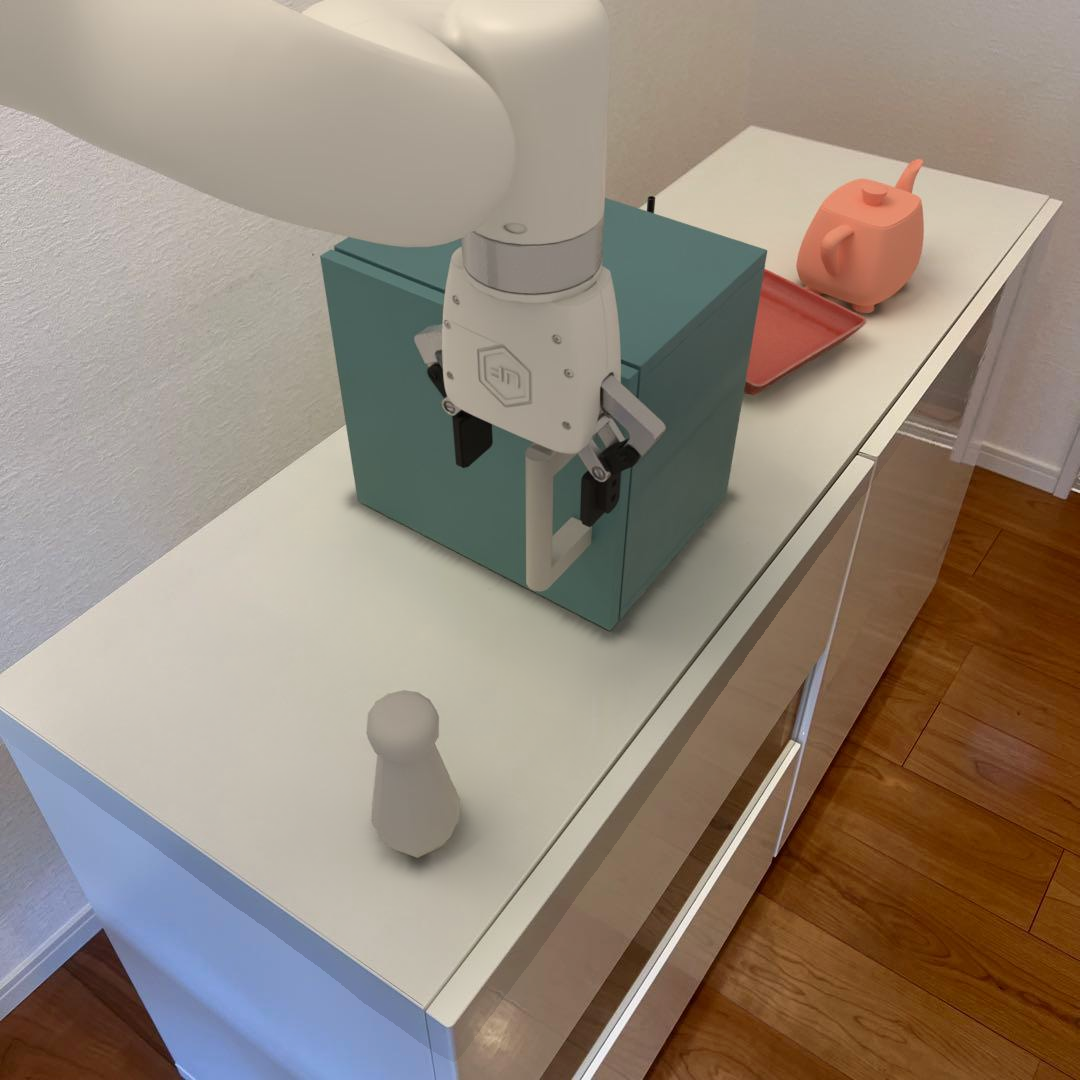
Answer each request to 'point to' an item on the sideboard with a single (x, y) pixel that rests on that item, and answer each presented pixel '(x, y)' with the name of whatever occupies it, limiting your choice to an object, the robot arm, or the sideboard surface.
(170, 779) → the sideboard surface
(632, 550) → the box
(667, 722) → the sideboard surface
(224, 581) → the sideboard surface
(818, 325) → the plant saucer
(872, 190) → the teapot
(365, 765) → the sideboard surface
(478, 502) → the fridge door
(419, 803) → the salt shaker
